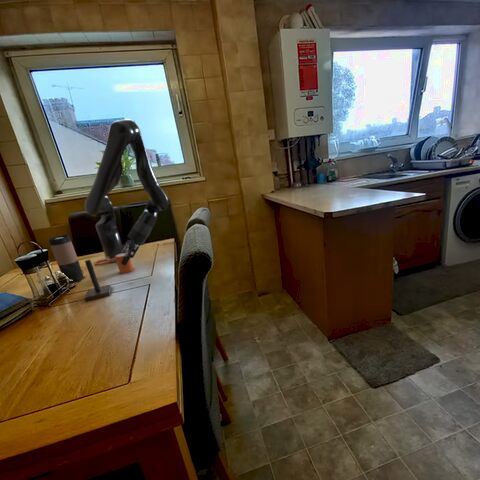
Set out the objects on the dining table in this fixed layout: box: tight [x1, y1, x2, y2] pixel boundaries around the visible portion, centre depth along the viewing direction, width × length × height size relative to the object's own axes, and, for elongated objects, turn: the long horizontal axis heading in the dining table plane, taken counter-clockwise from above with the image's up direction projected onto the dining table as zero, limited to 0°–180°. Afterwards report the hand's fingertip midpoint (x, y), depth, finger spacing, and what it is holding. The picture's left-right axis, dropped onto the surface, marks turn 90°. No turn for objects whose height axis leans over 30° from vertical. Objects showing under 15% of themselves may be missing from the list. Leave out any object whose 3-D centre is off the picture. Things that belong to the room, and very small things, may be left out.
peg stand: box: [84, 259, 113, 302], centre depth 105 cm, size 8×8×14 cm
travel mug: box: [48, 234, 85, 284], centre depth 122 cm, size 8×8×20 cm
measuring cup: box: [93, 253, 134, 274], centre depth 126 cm, size 14×6×8 cm, turn 127°
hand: (121, 262), depth 127 cm, fingers open, 8 cm apart
